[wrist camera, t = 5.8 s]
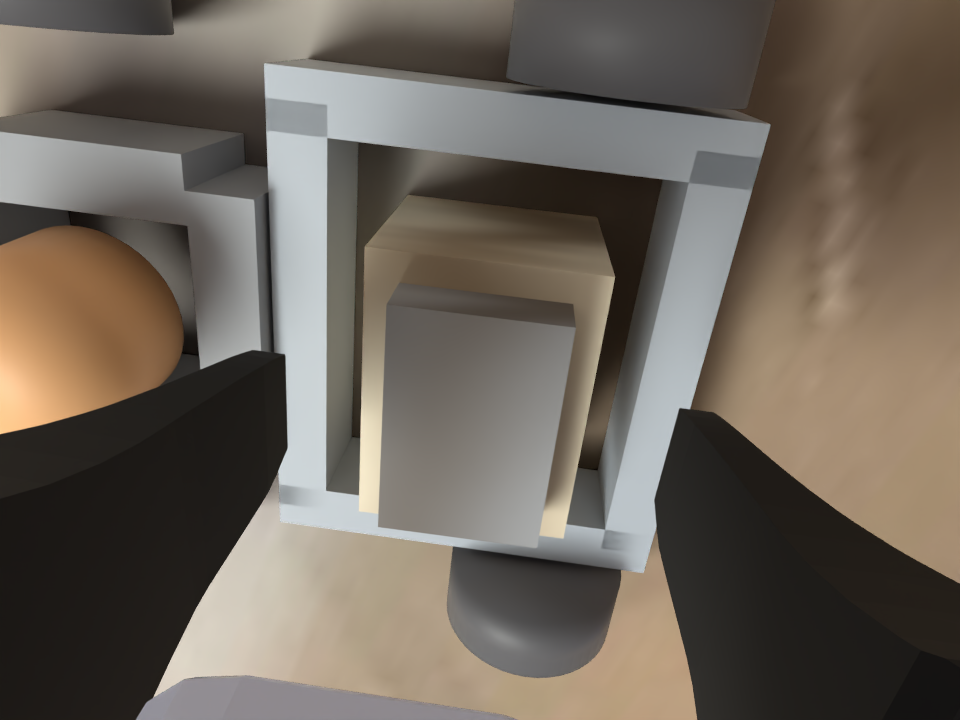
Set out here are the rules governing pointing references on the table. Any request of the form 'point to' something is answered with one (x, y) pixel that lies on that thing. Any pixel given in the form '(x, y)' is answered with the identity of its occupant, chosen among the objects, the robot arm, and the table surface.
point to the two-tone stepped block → (479, 367)
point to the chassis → (332, 252)
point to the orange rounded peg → (80, 325)
